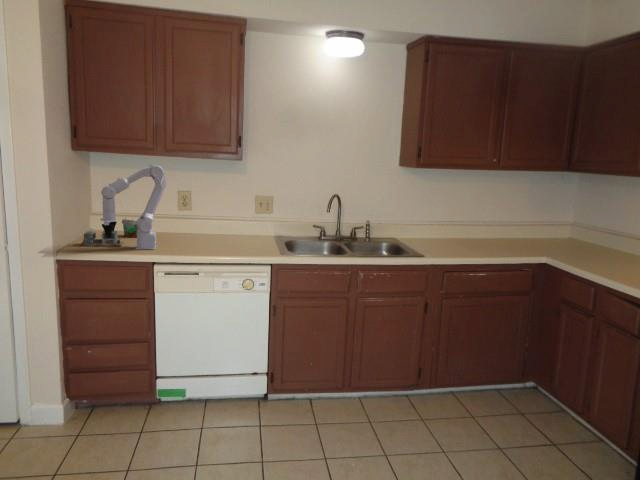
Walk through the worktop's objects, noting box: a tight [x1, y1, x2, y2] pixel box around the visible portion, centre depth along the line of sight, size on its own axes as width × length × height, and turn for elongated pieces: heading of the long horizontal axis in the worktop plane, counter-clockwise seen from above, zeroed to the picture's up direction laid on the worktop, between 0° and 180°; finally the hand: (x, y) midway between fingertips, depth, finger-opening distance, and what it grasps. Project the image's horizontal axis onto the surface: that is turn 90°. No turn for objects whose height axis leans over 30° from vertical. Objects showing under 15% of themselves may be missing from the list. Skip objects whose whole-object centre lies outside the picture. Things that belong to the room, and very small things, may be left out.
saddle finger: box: [101, 230, 118, 243], centre depth 247 cm, size 4×6×6 cm
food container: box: [121, 217, 138, 239], centre depth 280 cm, size 12×6×10 cm, turn 62°
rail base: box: [79, 230, 125, 248], centre depth 258 cm, size 20×8×6 cm, turn 102°
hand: (109, 236), depth 247 cm, fingers closed on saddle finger, 4 cm apart
